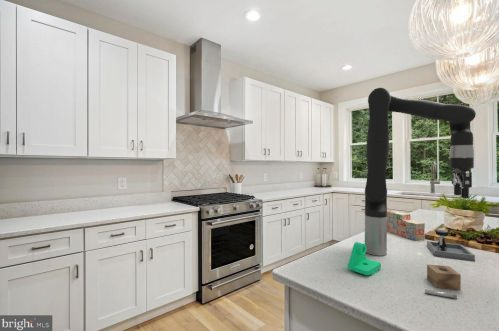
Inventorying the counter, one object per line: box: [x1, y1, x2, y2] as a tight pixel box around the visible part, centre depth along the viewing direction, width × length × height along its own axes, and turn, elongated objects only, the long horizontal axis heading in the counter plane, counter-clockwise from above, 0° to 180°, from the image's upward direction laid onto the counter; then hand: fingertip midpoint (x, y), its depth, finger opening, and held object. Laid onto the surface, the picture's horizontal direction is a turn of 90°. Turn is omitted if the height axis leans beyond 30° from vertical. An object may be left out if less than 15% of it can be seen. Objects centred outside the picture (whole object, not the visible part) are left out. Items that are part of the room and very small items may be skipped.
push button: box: [434, 227, 450, 251], centre depth 117 cm, size 7×5×10 cm
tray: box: [426, 240, 476, 262], centre depth 116 cm, size 14×15×2 cm
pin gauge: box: [424, 289, 458, 299], centre depth 79 cm, size 8×1×1 cm, turn 66°
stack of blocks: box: [387, 210, 426, 242], centre depth 145 cm, size 21×6×12 cm, turn 13°
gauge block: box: [426, 264, 462, 291], centre depth 87 cm, size 7×7×5 cm
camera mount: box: [347, 241, 382, 276], centre depth 98 cm, size 12×8×10 cm, turn 129°
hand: (461, 196), depth 102 cm, fingers open, 8 cm apart
